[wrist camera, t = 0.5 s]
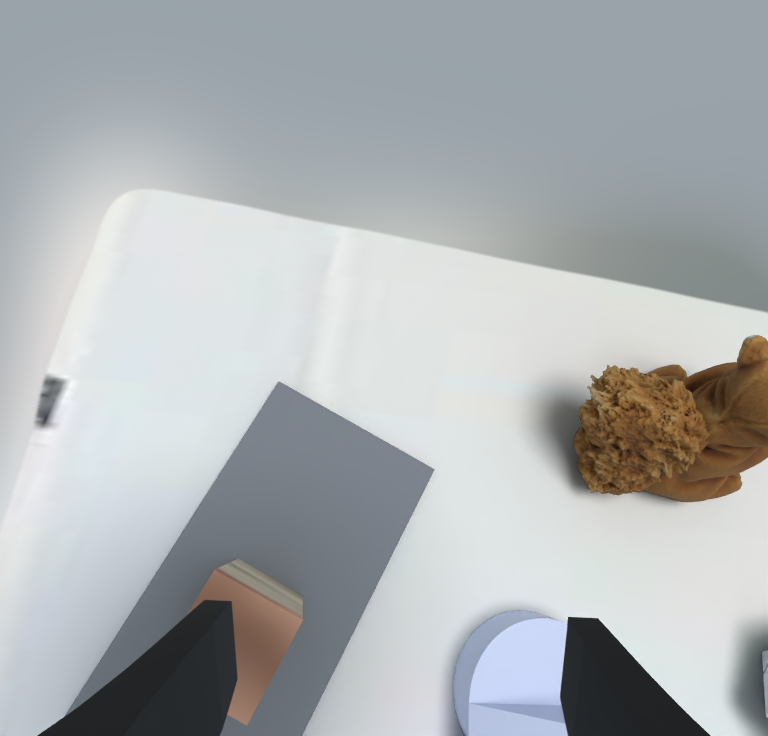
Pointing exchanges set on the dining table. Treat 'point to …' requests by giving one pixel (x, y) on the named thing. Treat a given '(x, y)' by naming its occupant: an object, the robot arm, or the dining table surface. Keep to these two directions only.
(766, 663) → the die
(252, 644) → the maple block
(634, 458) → the brown furry figure
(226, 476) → the rubber mat
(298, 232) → the dining table surface
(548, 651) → the wedge on round base
